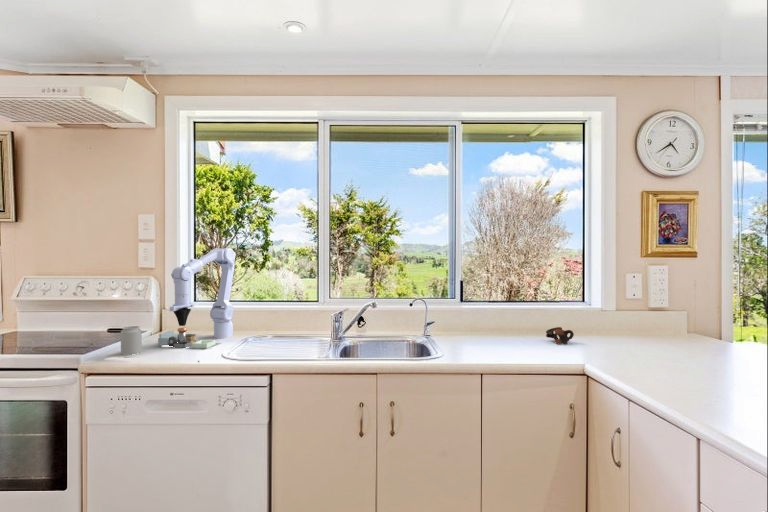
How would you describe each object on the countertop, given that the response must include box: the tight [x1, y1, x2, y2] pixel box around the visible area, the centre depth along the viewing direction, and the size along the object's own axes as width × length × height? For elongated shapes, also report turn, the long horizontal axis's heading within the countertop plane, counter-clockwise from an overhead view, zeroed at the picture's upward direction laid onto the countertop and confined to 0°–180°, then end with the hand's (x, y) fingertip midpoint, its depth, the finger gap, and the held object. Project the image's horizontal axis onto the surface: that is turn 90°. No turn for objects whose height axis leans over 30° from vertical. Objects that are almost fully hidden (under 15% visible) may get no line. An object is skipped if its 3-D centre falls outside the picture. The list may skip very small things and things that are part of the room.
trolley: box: [157, 330, 179, 346], centre depth 199 cm, size 10×7×5 cm
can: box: [120, 325, 143, 356], centre depth 184 cm, size 8×8×12 cm
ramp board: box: [173, 342, 222, 350], centre depth 198 cm, size 12×24×3 cm, turn 81°
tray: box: [192, 339, 217, 350], centre depth 195 cm, size 7×7×2 cm
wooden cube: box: [186, 333, 197, 343], centre depth 202 cm, size 4×4×4 cm
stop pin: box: [177, 327, 188, 344], centre depth 195 cm, size 4×4×8 cm
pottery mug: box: [545, 326, 575, 346], centre depth 207 cm, size 12×10×8 cm
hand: (182, 325), depth 195 cm, fingers closed
